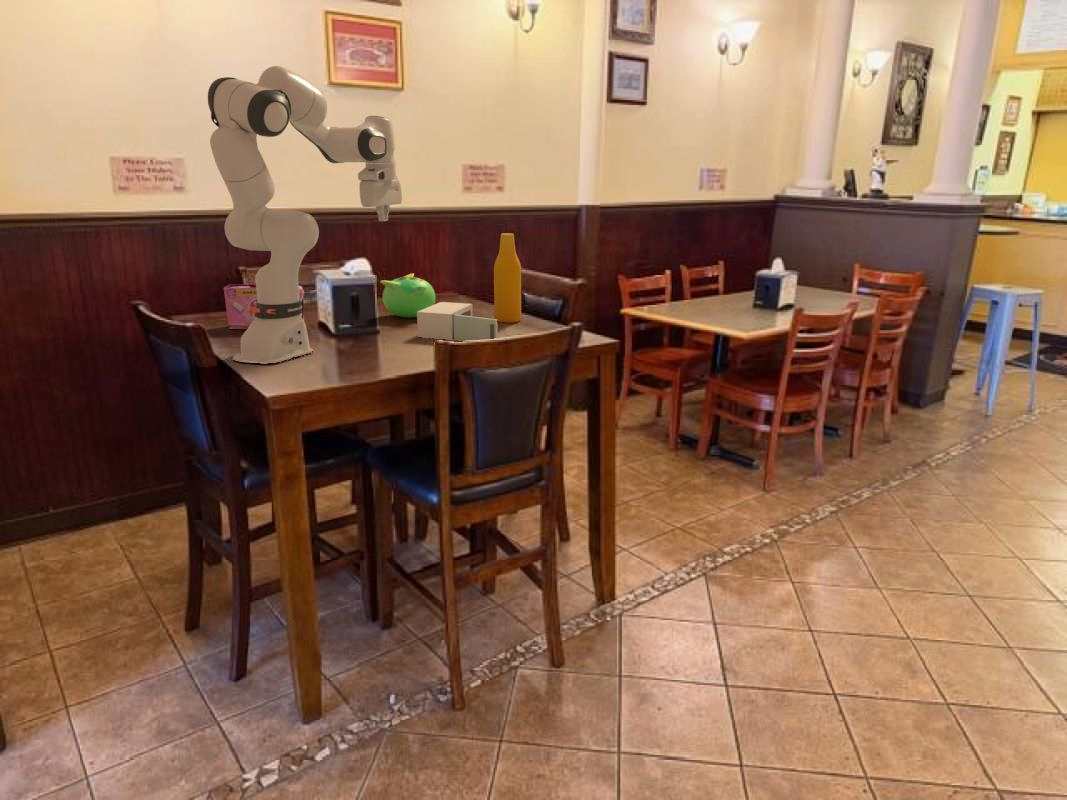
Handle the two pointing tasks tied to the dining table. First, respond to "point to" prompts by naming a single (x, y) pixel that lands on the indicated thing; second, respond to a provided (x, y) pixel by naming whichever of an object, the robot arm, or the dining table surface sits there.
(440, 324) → the cabinet housing
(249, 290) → the gum box
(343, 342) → the dining table surface
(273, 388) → the dining table surface
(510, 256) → the beer bottle
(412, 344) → the dining table surface
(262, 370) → the dining table surface
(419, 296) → the green horned ball
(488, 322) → the side door
